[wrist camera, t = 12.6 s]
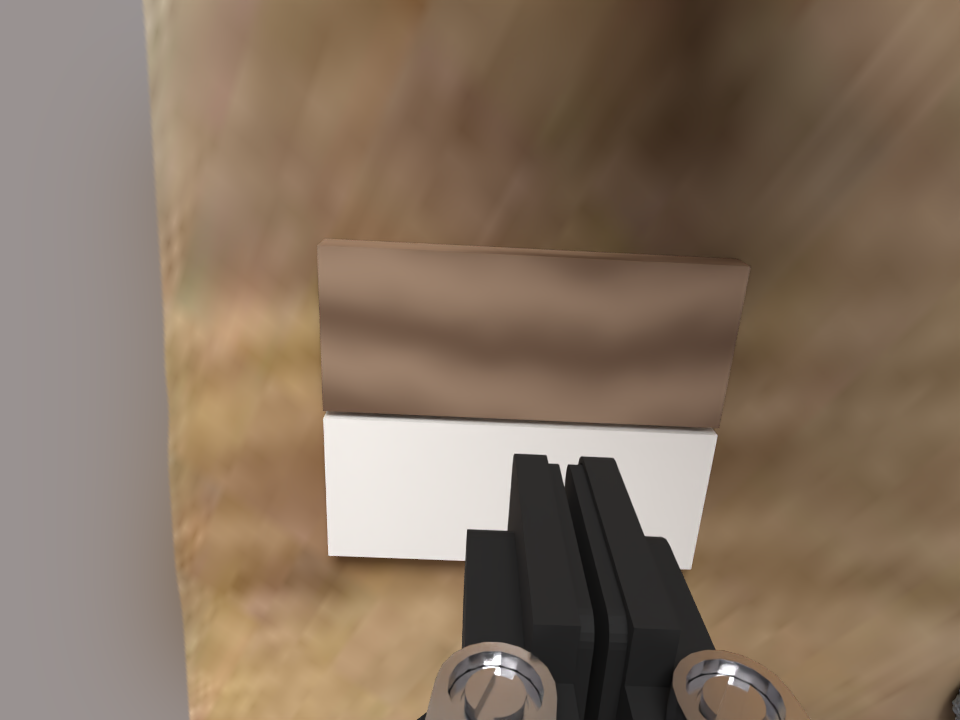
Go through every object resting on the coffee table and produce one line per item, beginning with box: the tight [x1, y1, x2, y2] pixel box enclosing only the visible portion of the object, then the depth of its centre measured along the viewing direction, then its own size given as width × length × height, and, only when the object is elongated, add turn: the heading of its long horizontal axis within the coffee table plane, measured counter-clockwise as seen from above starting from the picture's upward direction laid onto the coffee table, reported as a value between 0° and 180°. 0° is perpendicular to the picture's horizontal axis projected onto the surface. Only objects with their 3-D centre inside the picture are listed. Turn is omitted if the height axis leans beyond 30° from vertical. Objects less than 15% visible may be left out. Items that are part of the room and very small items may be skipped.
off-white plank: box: [323, 411, 718, 569], centre depth 44 cm, size 10×24×2 cm, turn 87°
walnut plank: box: [317, 239, 751, 428], centre depth 40 cm, size 10×24×2 cm, turn 87°
